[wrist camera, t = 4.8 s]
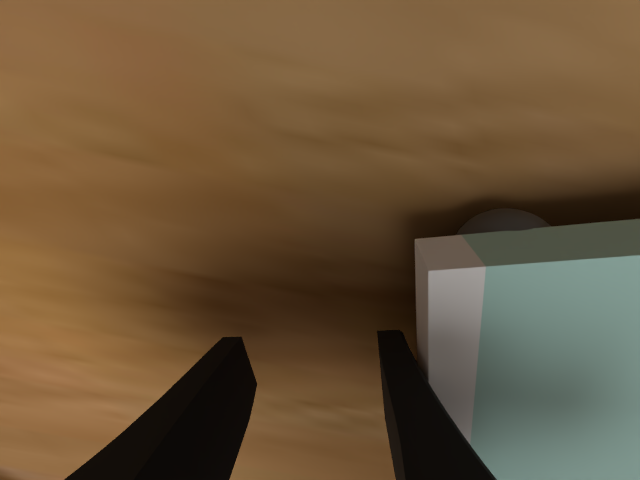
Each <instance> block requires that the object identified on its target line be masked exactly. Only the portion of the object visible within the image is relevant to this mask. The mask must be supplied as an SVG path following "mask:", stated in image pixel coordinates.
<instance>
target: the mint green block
mask: <svg viewBox="0 0 640 480" xmlns="http://www.w3.org/2000/svg"><path fill="white" fill-rule="evenodd" d="M415 280H416V326H417V364H418V365H419V367H420V369H421V371H422V373H423V374H424V376H425V378H426V379H427V381H428V383H429V384H430V386H431V387H432V389H433V391H434V392H435V394H436V395H437V397H438V399H439V400H440V402H441V403H442V405H443V406H444V408H445V409H446V411H447V412H448V414H449V415H450V417H451V418H452V420H453V421H454V423H455V424H456V425H457V427H458V428H459V430H460V431H461V433H462V434H463V436H464V437H465V438H466V440H467V441H468V442H469V444H470V445H471V447H472V448H473V449H474V451H475V452H476V453H477V455H478V456H479V457H480V459H481V460H482V461H483V463H484V464H485V465H486V466H487V468H488V469H489V470H490V472H491V473H492V474H493V475H494V477H495V478H496V479H497V480H640V219H631V220H620V221H609V222H598V223H587V224H576V225H564V226H553V227H551V226H550V225H549V224H548V223H547V222H546V221H544V220H543V219H542V218H540V217H538V216H536V215H534V214H532V213H530V212H527V211H523V210H519V209H512V208H499V209H493V210H489V211H485V212H483V213H480V214H478V215H476V216H474V217H473V218H471V219H470V220H468V221H467V222H466V223H465V224H464V225H463V226H462V227H461V228H460V229H459V231H458V232H457V234H456V235H453V236H442V237H431V238H420V239H415Z"/></svg>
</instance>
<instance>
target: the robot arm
mask: <svg viewBox="0 0 640 480" xmlns="http://www.w3.org/2000/svg"><path fill="white" fill-rule="evenodd" d="M377 334H378V345H379V357H380V368H381V379H382V390H383V401H384V411H385V421H386V426H387V432H388V438H389V443H390V449H391V454H392V460H393V466H394V471H395V477H396V480H497V479H496V478H495V477H494V475H493V474H492V473H491V472H490V470H489V469H488V468H487V466H486V465H485V464H484V463H483V461H482V460H481V459H480V457H479V456H478V455H477V453H476V452H475V451H474V449H473V448H472V447H471V445H470V444H469V442H468V441H467V440H466V438H465V437H464V436H463V434H462V433H461V431H460V430H459V428H458V427H457V425H456V424H455V423H454V421H453V420H452V418H451V417H450V415H449V414H448V412H447V411H446V409H445V408H444V406H443V405H442V403H441V402H440V400H439V399H438V397H437V395H436V394H435V392H434V391H433V389H432V387H431V386H430V384H429V383H428V381H427V379H426V378H425V376H424V374H423V373H422V371H421V369H420V367H419V365H418V364H417V362H416V360H415V358H414V356H413V354H412V352H411V350H410V348H409V346H408V344H407V341H406V339H405V336H404V334H403V332H401V331H400V330H385V331H377ZM256 387H257V382H256V379H255V376H254V373H253V370H252V367H251V364H250V361H249V358H248V355H247V352H246V349H245V346H244V343H243V340H242V337H223V338H222V339H221V340H220V341H218V342H217V343H216V344H215V345H214V346H213V347H212V348H211V349H210V350H209V351H208V352H207V353H206V354H205V355H204V356H203V357H202V358H201V359H200V360H199V361H198V362H197V363H196V364H195V365H194V366H193V367H192V368H191V369H190V370H189V371H188V372H187V373H186V374H185V375H184V376H183V377H182V378H181V379H180V380H179V381H177V382H176V383H175V384H174V385H173V386H172V387H171V388H170V389H169V390H168V391H167V392H166V393H165V394H164V395H163V396H162V397H161V398H160V399H159V400H158V401H157V402H155V403H154V404H153V405H152V406H151V407H150V408H149V409H148V410H147V411H146V412H144V413H143V414H142V415H141V416H140V417H139V418H138V419H137V420H136V421H135V422H133V423H132V424H131V425H130V426H129V427H128V428H127V429H126V430H125V431H123V432H122V433H121V434H120V435H119V436H118V437H116V438H115V439H114V440H113V441H112V442H111V443H109V444H108V445H107V446H106V447H105V448H103V449H102V450H101V451H100V452H98V453H97V454H96V455H95V456H93V457H92V458H91V459H90V460H89V461H87V462H86V463H85V464H84V465H82V466H81V467H80V468H79V469H77V470H76V471H75V472H74V473H72V474H71V475H70V476H68V477H67V478H66V479H64V480H229V479H230V476H231V473H232V470H233V467H234V464H235V461H236V458H237V455H238V452H239V449H240V446H241V443H242V440H243V437H244V434H245V431H246V428H247V425H248V422H249V419H250V415H251V410H252V406H253V402H254V397H255V392H256Z"/></svg>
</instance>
